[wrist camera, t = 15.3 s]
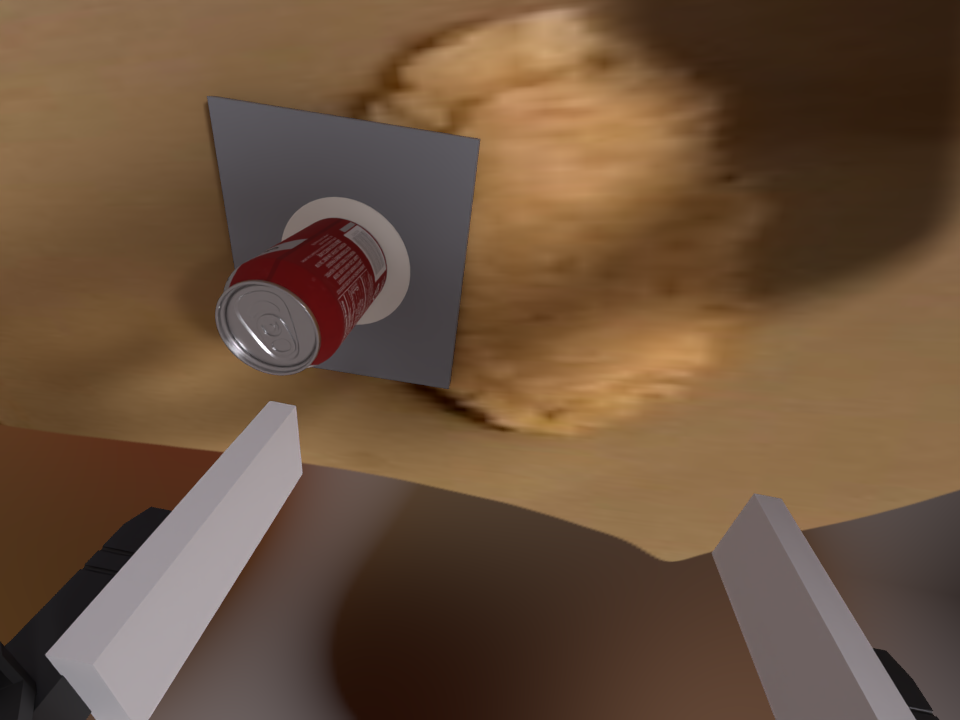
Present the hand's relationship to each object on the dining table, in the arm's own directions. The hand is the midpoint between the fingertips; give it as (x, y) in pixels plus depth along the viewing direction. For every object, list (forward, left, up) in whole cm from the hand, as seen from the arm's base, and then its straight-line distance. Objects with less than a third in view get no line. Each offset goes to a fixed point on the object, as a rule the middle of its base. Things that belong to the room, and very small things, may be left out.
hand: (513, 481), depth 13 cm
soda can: (+2, -13, -22) cm, 26 cm away
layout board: (+3, -13, -23) cm, 27 cm away
